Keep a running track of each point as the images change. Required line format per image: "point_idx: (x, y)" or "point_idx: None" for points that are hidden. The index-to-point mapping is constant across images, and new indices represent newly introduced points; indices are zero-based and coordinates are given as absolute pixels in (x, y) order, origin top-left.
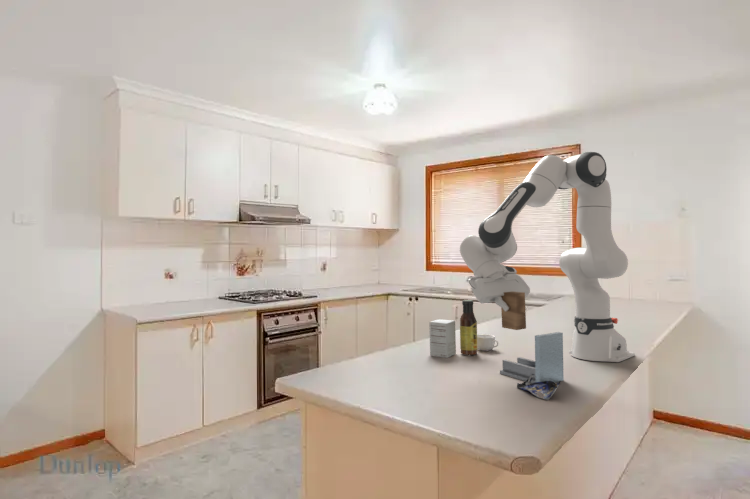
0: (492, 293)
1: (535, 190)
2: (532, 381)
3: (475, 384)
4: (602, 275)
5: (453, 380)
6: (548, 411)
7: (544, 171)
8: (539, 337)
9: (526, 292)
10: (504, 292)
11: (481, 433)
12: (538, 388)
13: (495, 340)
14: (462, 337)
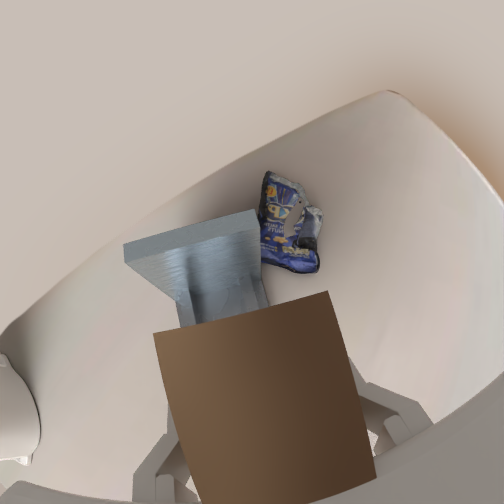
0: (501, 397)
1: None
2: (263, 289)
3: (394, 321)
4: None
5: (425, 361)
6: (324, 151)
7: None
8: (251, 211)
9: (48, 488)
10: (369, 470)
11: (425, 133)
12: (277, 245)
13: None
14: None
